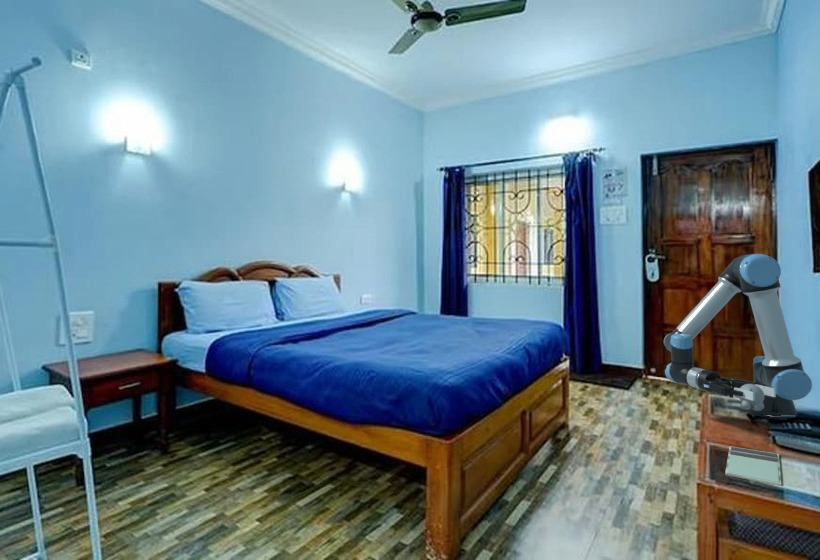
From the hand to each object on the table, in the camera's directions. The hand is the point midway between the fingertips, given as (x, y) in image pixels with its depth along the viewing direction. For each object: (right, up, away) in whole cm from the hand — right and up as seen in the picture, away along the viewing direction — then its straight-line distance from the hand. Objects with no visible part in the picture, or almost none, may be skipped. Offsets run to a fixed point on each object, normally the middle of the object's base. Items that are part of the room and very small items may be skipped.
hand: (764, 394), depth 156 cm
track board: (-11, -19, -10) cm, 24 cm away
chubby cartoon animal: (-1, -6, +5) cm, 8 cm away
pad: (-14, -19, -14) cm, 27 cm away
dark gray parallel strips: (-7, -18, -4) cm, 20 cm away
